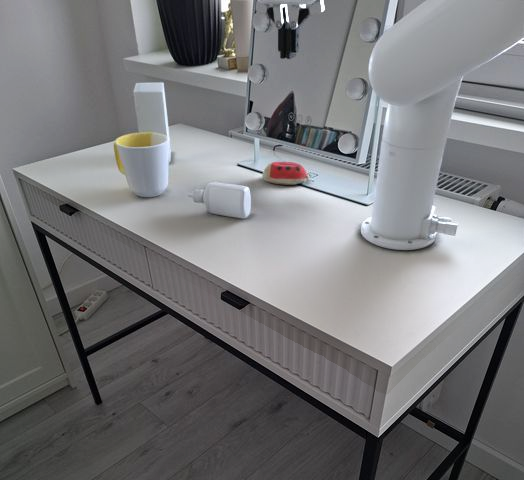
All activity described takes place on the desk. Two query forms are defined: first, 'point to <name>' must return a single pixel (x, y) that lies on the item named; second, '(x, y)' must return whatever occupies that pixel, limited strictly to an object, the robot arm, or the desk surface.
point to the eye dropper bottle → (224, 199)
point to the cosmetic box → (151, 109)
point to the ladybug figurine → (285, 173)
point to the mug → (143, 162)
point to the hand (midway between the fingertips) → (288, 57)
